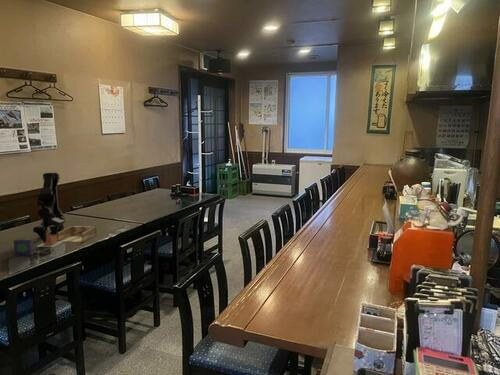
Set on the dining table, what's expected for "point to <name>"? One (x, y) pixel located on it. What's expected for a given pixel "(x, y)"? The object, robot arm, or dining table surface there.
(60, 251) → the dining table surface
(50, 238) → the block
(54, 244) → the plate
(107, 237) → the dining table surface
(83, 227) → the hinoki box
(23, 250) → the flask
